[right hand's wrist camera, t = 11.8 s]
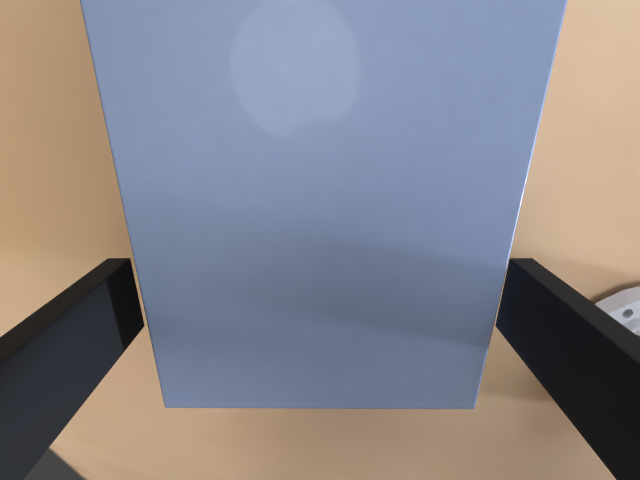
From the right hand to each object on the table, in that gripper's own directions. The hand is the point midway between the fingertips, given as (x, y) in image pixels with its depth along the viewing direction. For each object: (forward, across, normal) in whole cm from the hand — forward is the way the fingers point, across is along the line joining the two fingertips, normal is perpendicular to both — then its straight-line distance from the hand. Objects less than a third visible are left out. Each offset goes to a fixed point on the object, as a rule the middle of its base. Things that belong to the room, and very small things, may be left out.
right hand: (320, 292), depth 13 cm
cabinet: (+7, 0, -6) cm, 9 cm away
